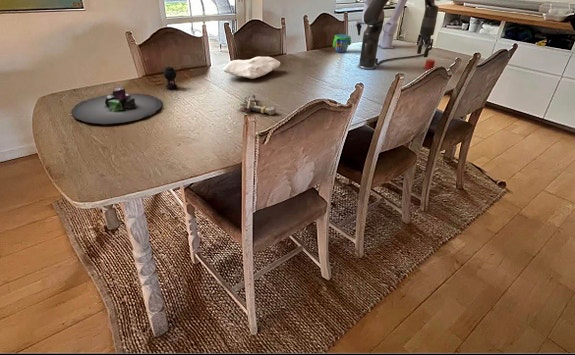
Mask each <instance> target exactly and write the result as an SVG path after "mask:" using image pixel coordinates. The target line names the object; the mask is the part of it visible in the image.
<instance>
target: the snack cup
mask: <svg viewBox="0 0 575 355" xmlns="http://www.w3.org/2000/svg"><path fill="white" fill-rule="evenodd" d="M332 42H333V43H332V47H333V48H335V51H336V52H337V53H347V51H348V48H349V46H351V44H352V36H350V35H349V34H335V35H334V39H333V41H332Z"/></svg>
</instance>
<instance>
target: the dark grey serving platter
mask: <svg viewBox="0 0 575 355" xmlns="http://www.w3.org/2000/svg"><path fill="white" fill-rule="evenodd" d="M158 98H159V97H158ZM158 98H157V97H154V96H153V95H149V94H142V93H127V92H126V89H125V88H122V87H120V86H116V87H115V88H114V89H113V90H112V94H106V95H101V96H98V97H92V98H89V99H86V100H83V101H80V102H79V103H77V104H76V105H74V106H73V108H72V109H71V110H70V111H71V117H72V118H74V119H77V120H79V121H82V122H85V123H91V124H97V125H99V124H100V125H113V124H120V123H121V124H122V123H123V124H124V123H129V122H133V121H138V120H141V119H145V118H148V117H150V116H153V115H154V114H157V112H159V111H161V109H162V107H163V104H162V100H160V99H158Z"/></svg>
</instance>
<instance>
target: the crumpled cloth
mask: <svg viewBox="0 0 575 355" xmlns="http://www.w3.org/2000/svg"><path fill="white" fill-rule="evenodd" d="M280 66H281V62H280V61H279V60H277V59H276V58H273V57H271V56H255V57H253V58H250V59H234V60H231V61H229V62H228V63H227V64H226V65H225V66H224V67H222V70H223V72H225V73H226V74H229V75H232V76H237V77H238V78H239V77H240V78H241V77H243V78H245V79H246V78H248V79H250V80H254V79H256V78H260V77H263V76H265V75H267V74H269V73H270V72H272V71H273V70H276V69H278V68H279V67H280Z"/></svg>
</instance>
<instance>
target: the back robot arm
mask: <svg viewBox="0 0 575 355" xmlns="http://www.w3.org/2000/svg"><path fill="white" fill-rule="evenodd" d="M372 1H373V0H362V2H363V9H362V15H361V16H362V17H361V20H355V22H354V24H355V26H356V30H357V36H359V37H360V36H361V30H362V25H366V24H365V22H364V13H365V11H366V10H367V8H368V7H369V5H370V4H371V2H372ZM407 2H408V0H398V1H397V3H396V5H395V7H394V9H393V12H392V13H391V15H390V18H389V19H388V20H387V21H386V22H385V23H384V24H383V27H382V32H383V33H381V35H380V39H379V44H378V47H380V48H382V49H394V47H393V41H394V35H395V34H396V32H397V27H398V21H399V19H400V17H401V15H402V13H403V10H404V8H405V7H406V4H407Z"/></svg>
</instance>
